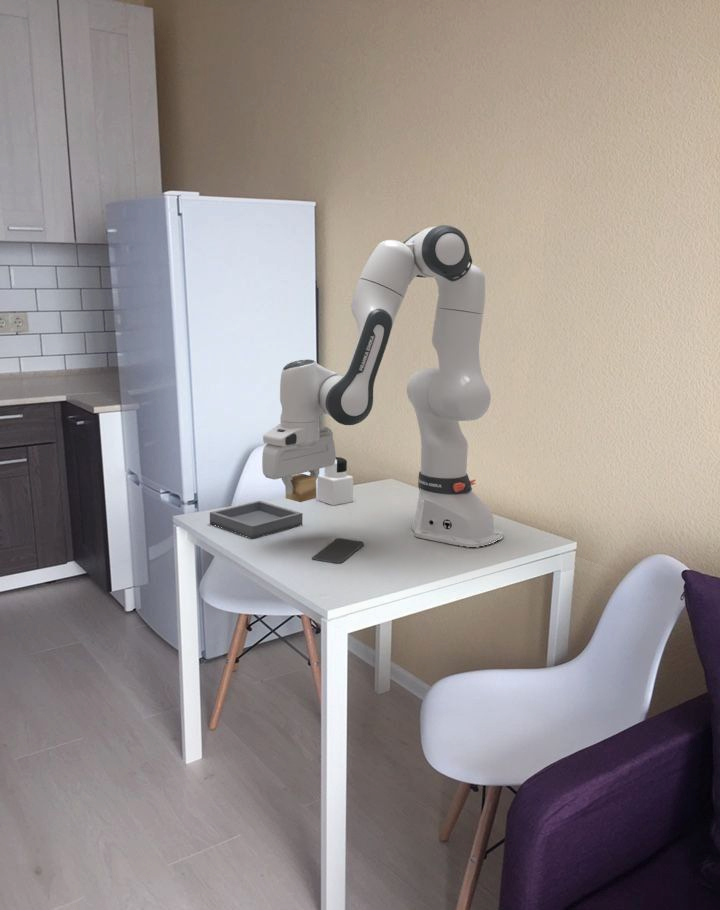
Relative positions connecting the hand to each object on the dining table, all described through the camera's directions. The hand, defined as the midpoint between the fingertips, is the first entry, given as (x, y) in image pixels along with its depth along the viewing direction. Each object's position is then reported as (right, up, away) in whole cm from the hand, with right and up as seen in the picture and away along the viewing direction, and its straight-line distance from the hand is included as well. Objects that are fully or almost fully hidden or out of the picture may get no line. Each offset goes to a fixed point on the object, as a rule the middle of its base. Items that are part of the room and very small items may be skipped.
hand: (300, 490), depth 186 cm
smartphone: (+9, -14, -6) cm, 18 cm away
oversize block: (0, -2, 0) cm, 2 cm away
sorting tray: (-12, -9, +12) cm, 19 cm away
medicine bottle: (+7, -5, +35) cm, 36 cm away
